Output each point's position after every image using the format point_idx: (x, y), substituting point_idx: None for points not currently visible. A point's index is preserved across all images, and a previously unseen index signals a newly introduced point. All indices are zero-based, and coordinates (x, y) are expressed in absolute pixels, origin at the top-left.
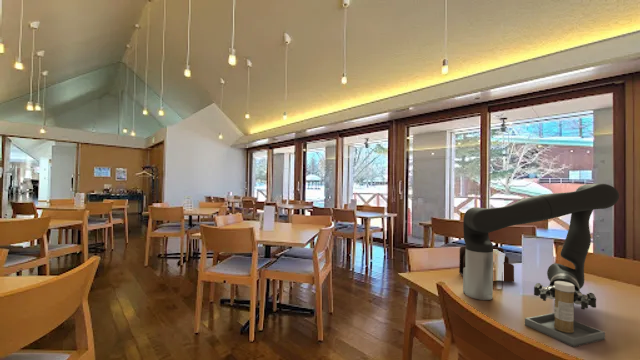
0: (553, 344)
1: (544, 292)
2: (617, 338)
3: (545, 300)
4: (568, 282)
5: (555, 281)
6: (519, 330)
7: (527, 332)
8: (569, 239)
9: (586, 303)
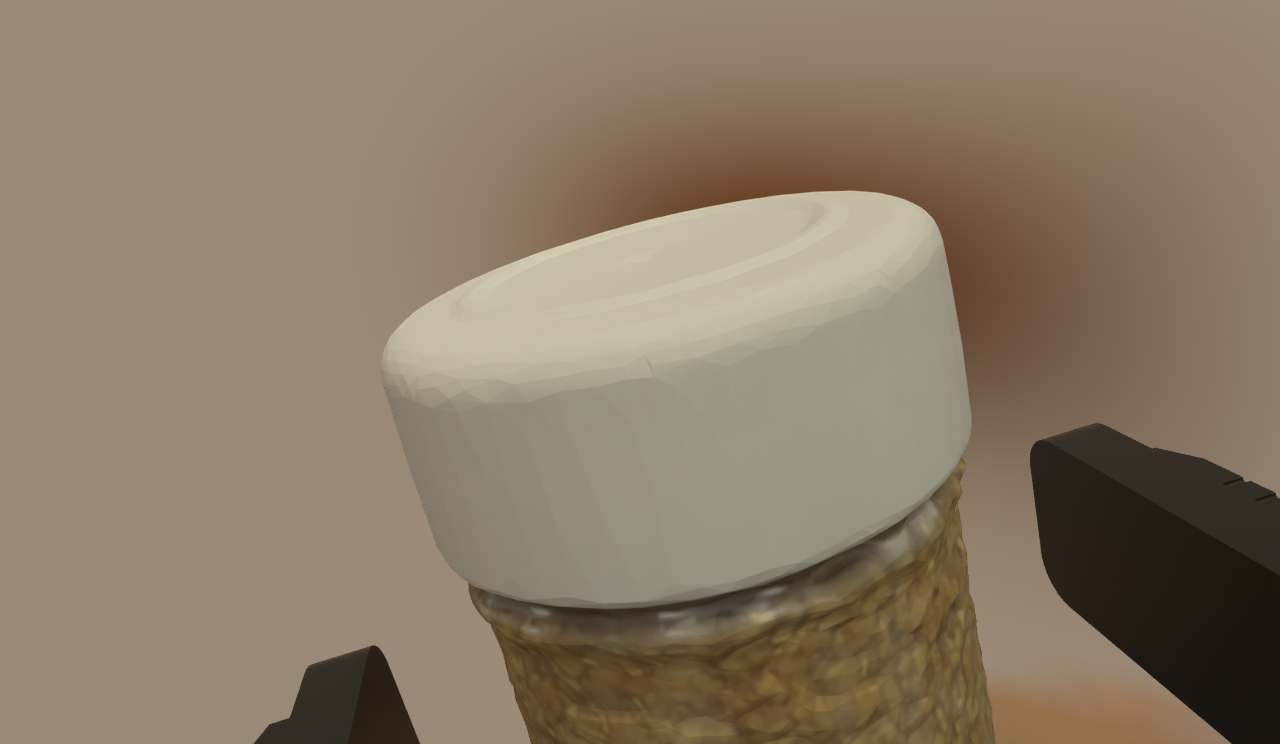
0: None
1: (1130, 460)
2: None
3: (1049, 569)
4: (552, 344)
5: (893, 197)
6: (1166, 694)
7: (1092, 725)
8: None
9: (285, 726)
